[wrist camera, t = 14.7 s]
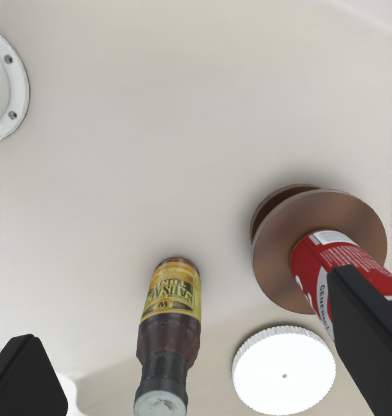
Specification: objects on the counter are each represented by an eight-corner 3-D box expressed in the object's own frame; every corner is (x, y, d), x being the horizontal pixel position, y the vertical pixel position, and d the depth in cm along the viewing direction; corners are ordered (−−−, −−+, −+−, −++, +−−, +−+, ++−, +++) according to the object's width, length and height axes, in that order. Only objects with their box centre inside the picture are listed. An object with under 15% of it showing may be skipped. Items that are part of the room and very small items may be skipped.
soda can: (304, 217, 34) (364, 277, 22) (364, 238, 35) (451, 306, 23) (276, 275, 36) (319, 357, 24) (334, 293, 37) (401, 381, 25)
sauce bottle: (195, 251, 43) (202, 370, 24) (204, 293, 45) (216, 434, 26) (144, 260, 43) (112, 385, 24) (155, 302, 45) (132, 448, 26)
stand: (219, 243, 43) (226, 273, 36) (290, 152, 39) (313, 163, 32) (303, 298, 45) (325, 335, 38) (376, 216, 42) (415, 240, 35)
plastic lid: (244, 313, 46) (247, 325, 44) (341, 329, 47) (350, 341, 45) (221, 393, 50) (223, 408, 48) (311, 406, 51) (317, 421, 49)
